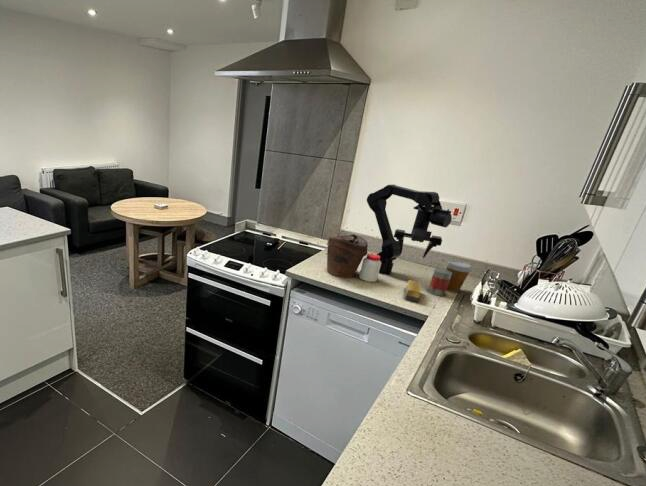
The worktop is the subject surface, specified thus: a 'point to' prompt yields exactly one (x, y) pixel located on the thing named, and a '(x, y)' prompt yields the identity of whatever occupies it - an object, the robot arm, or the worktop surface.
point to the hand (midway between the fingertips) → (411, 255)
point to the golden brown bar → (413, 291)
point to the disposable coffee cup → (457, 274)
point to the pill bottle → (370, 268)
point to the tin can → (439, 281)
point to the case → (345, 254)
